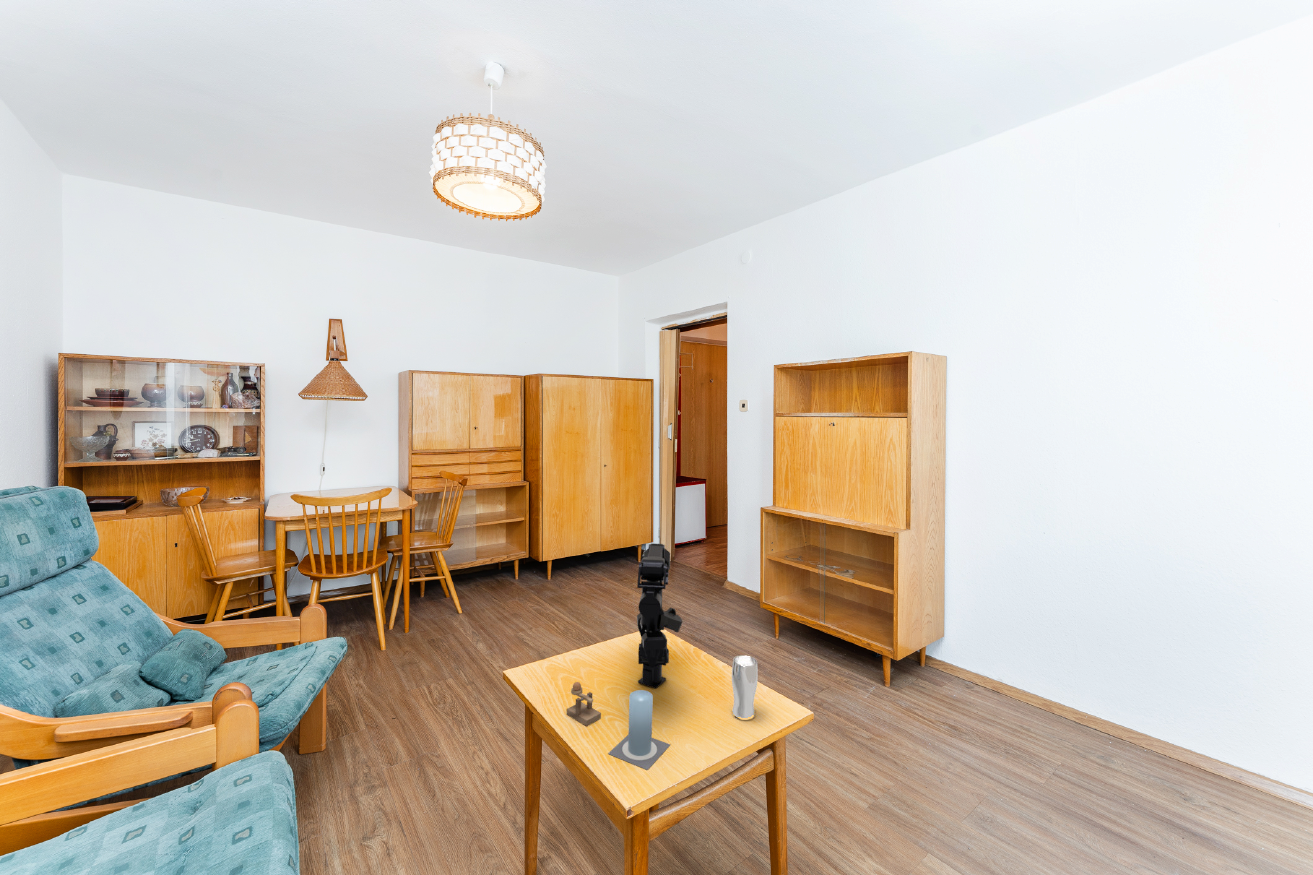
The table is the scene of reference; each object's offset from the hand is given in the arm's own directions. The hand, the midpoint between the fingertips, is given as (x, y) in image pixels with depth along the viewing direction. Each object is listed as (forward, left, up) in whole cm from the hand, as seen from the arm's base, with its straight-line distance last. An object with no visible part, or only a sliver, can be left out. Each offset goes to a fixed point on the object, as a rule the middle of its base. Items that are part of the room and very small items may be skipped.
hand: (650, 659), depth 148 cm
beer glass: (-10, +24, -13) cm, 29 cm away
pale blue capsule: (+18, +8, -13) cm, 23 cm away
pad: (+18, +8, -13) cm, 24 cm away
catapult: (+14, -12, -13) cm, 23 cm away
